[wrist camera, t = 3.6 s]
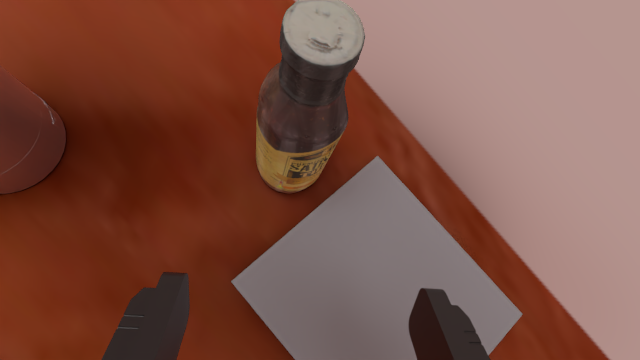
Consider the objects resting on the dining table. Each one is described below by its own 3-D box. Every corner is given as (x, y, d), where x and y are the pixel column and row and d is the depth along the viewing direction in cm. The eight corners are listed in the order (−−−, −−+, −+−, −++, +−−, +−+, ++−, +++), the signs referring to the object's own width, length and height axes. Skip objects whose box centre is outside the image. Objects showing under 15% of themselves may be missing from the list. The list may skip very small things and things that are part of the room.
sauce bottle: (288, 209, 35) (315, 125, 16) (242, 162, 36) (217, 27, 17) (336, 164, 37) (411, 41, 18) (292, 120, 38) (320, -45, 19)
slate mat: (386, 470, 31) (389, 475, 30) (231, 281, 33) (230, 281, 32) (517, 313, 36) (522, 314, 35) (375, 158, 38) (377, 155, 37)
